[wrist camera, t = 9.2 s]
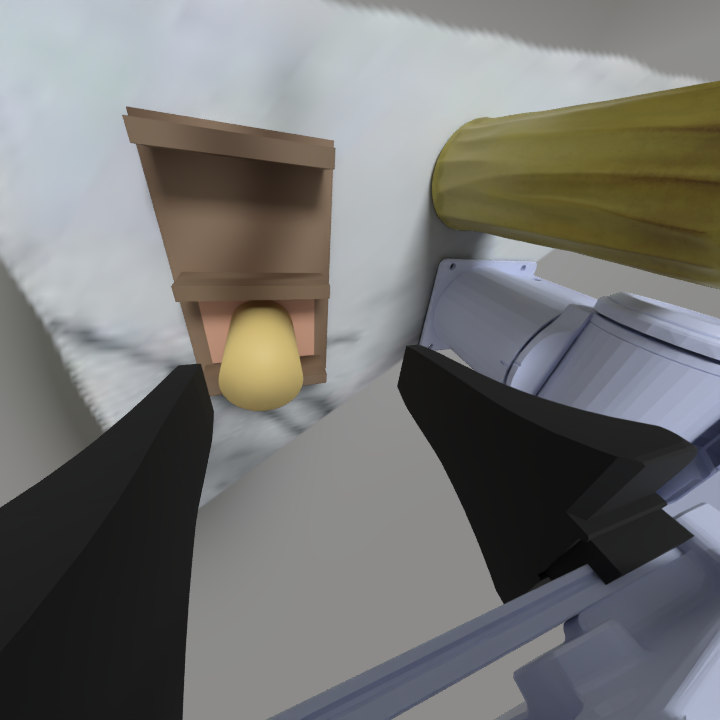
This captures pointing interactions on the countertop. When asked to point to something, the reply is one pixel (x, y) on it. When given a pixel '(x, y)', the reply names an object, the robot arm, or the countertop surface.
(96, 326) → the countertop surface
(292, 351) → the peg
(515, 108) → the countertop surface
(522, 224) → the vase
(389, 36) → the countertop surface
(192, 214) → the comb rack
